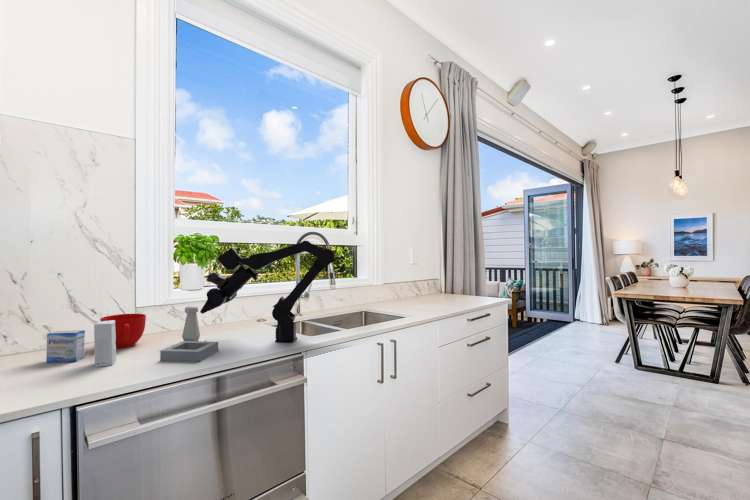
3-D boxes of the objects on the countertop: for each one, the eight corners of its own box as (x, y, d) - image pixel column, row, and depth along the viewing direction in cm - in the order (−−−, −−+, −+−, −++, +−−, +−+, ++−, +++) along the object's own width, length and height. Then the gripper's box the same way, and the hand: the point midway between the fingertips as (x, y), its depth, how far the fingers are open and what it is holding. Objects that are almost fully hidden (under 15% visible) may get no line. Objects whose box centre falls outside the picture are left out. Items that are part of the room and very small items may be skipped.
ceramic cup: (102, 355, 116) (102, 323, 116) (99, 344, 130) (99, 316, 130) (150, 349, 125) (150, 319, 125) (143, 339, 138) (143, 312, 138)
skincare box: (112, 365, 107) (112, 323, 107) (93, 367, 105) (93, 324, 105) (116, 359, 112) (116, 319, 112) (98, 361, 110) (98, 320, 110)
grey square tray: (218, 350, 123) (218, 341, 123) (199, 361, 111) (199, 351, 111) (183, 349, 124) (183, 340, 124) (160, 360, 112) (160, 350, 112)
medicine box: (45, 363, 109) (45, 333, 109) (55, 358, 113) (55, 330, 113) (76, 362, 110) (76, 332, 110) (85, 357, 114) (85, 329, 114)
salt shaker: (192, 344, 130) (192, 307, 130) (178, 343, 132) (178, 307, 132) (203, 340, 136) (203, 305, 136) (189, 339, 137) (190, 304, 137)
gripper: (228, 263, 144) (198, 291, 143) (213, 265, 126) (178, 298, 125) (249, 283, 145) (219, 312, 144) (237, 288, 127) (202, 321, 125)
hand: (205, 310), depth 134 cm, fingers open, 9 cm apart
